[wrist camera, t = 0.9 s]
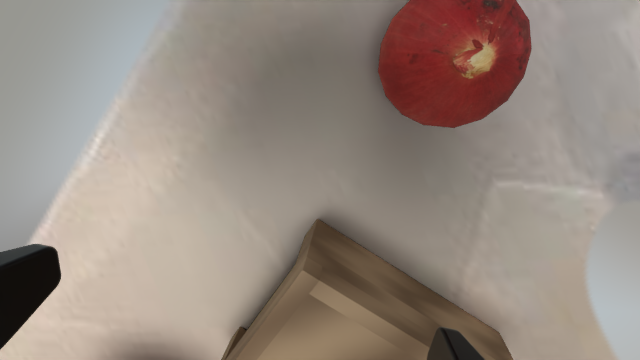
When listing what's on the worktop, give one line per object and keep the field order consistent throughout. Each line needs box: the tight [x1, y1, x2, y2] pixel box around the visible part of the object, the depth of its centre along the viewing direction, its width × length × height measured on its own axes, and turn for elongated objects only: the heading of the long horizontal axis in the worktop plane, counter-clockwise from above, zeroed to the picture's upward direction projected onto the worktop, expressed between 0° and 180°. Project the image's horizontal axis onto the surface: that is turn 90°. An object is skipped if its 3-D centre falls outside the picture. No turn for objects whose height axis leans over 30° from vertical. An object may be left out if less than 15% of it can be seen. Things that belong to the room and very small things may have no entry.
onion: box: [378, 0, 531, 128], centre depth 13 cm, size 6×6×8 cm
